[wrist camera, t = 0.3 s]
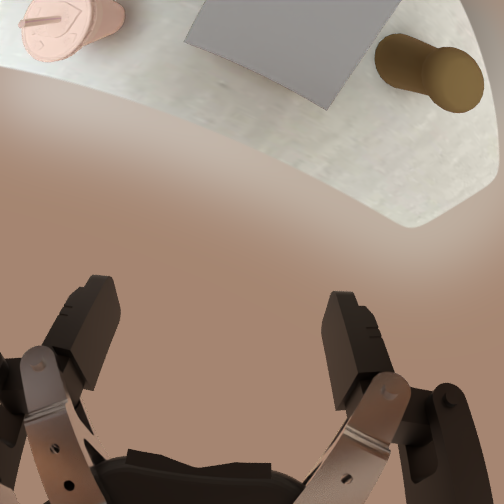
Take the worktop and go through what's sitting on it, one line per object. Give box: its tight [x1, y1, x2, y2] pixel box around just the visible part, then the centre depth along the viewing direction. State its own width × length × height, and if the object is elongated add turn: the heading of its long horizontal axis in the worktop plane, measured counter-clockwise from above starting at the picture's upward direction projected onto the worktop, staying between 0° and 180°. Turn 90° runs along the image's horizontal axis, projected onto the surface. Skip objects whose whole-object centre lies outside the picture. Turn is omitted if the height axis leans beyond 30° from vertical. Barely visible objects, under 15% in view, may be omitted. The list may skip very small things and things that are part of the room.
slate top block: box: [184, 0, 401, 111], centre depth 16 cm, size 10×10×5 cm
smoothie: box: [18, 0, 125, 62], centre depth 15 cm, size 6×6×14 cm
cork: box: [375, 34, 484, 113], centre depth 19 cm, size 6×6×11 cm
